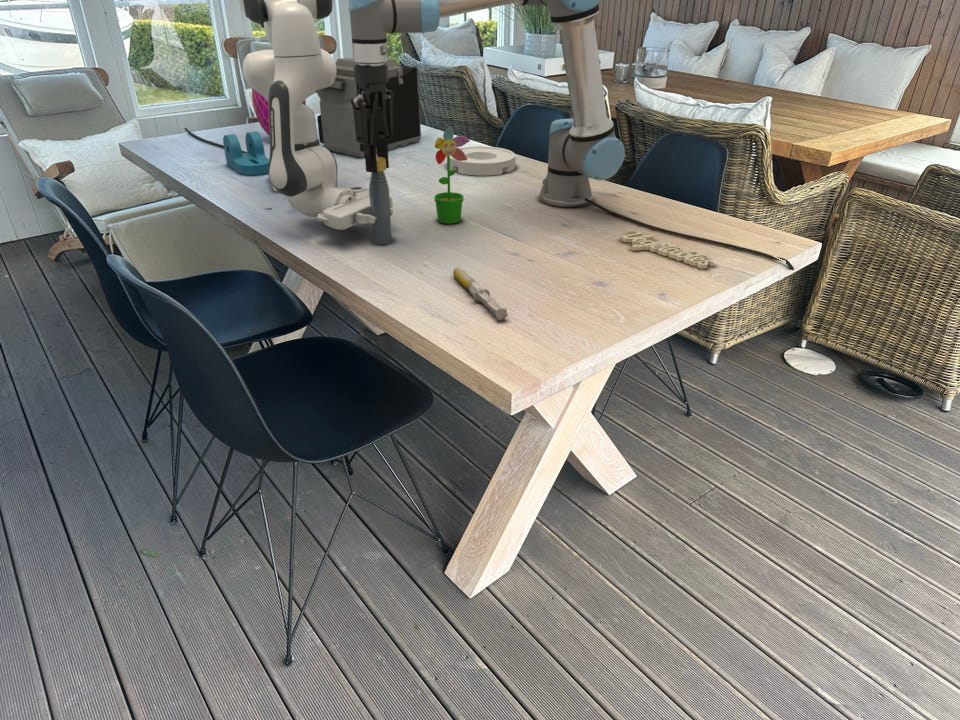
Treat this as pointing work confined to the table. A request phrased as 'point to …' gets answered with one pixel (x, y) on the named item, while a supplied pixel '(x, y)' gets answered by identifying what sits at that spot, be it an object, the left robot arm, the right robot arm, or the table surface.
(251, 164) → the camera mount
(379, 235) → the bottle
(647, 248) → the decorative sign
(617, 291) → the table surface
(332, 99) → the cooler box
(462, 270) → the syringe
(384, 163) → the cap
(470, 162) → the ashtray
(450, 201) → the potted flower
